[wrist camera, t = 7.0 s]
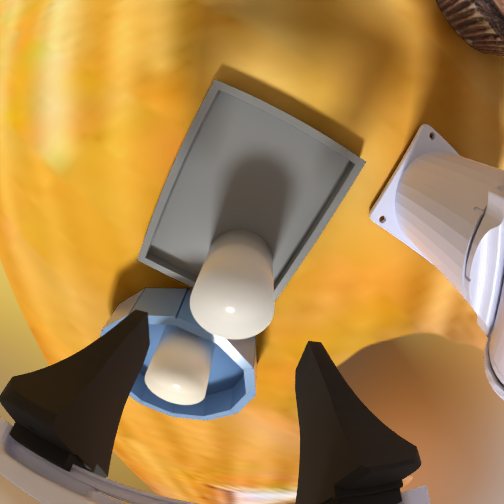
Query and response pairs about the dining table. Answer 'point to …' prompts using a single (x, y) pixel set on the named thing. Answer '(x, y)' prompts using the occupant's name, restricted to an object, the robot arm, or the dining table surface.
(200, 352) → the white rounded capsule
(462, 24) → the cupcake
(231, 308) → the cylinder
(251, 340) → the bowl
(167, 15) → the dining table surface
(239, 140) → the tray
